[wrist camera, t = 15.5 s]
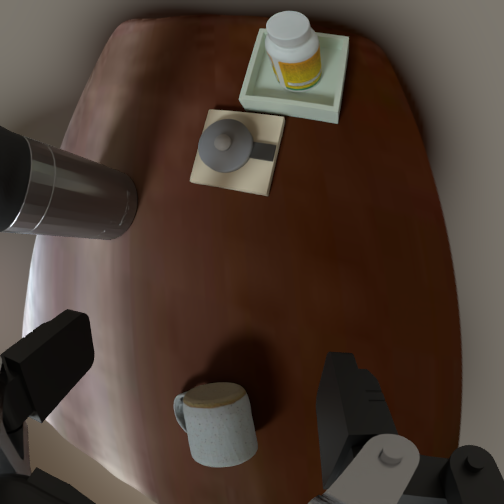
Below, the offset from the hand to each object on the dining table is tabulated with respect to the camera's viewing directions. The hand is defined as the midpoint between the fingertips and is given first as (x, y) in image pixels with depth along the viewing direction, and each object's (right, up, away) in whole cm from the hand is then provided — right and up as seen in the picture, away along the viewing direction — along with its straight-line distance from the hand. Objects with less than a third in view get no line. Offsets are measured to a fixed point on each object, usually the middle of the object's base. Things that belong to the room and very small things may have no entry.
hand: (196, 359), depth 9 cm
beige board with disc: (0, +15, +25) cm, 29 cm away
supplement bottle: (+7, +24, +23) cm, 34 cm away
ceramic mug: (-2, -16, +25) cm, 30 cm away
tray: (+7, +24, +23) cm, 34 cm away
